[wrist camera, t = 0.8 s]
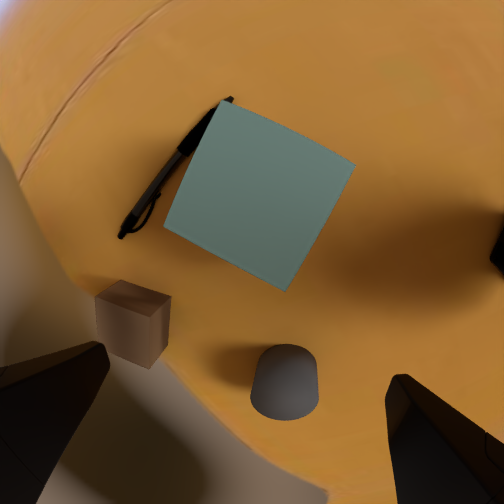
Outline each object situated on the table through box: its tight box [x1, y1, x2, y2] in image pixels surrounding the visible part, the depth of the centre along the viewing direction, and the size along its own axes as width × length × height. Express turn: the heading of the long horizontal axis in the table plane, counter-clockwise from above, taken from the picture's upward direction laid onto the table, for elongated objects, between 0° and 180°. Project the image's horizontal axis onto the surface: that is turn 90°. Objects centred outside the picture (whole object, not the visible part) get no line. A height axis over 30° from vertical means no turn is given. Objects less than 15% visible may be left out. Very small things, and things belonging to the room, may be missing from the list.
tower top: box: [163, 100, 356, 292], centre depth 13 cm, size 6×6×4 cm
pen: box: [118, 96, 234, 240], centre depth 19 cm, size 14×2×1 cm, turn 136°
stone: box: [250, 344, 319, 421], centre depth 20 cm, size 5×5×4 cm
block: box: [95, 280, 171, 369], centre depth 21 cm, size 5×5×4 cm
